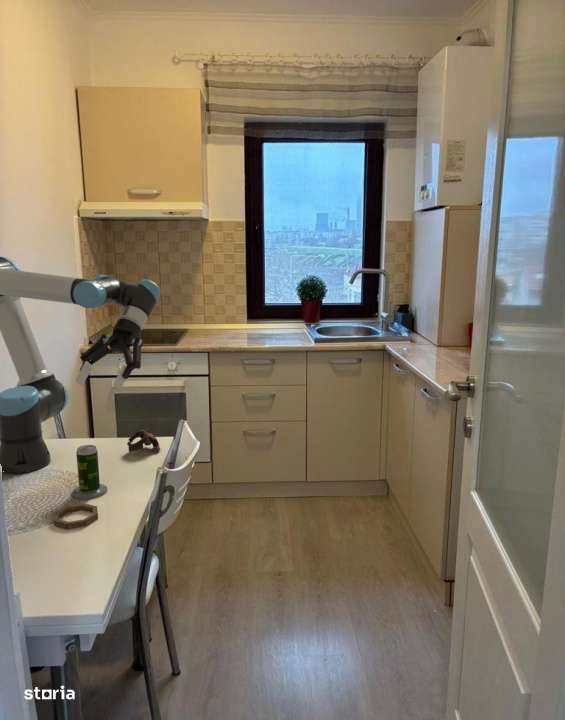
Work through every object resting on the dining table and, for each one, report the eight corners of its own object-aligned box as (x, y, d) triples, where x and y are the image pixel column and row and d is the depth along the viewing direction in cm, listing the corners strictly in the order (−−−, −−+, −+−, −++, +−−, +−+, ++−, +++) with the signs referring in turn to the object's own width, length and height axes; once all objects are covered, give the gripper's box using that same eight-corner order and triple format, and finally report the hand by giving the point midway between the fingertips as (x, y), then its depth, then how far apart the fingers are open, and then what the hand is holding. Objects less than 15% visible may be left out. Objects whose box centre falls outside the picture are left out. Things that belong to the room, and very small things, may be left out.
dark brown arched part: (162, 457, 176) (148, 438, 172) (136, 469, 176) (122, 451, 173) (163, 436, 186) (150, 418, 183) (139, 448, 187) (126, 430, 183)
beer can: (89, 484, 152) (86, 443, 150) (104, 488, 150) (101, 446, 148) (74, 492, 148) (71, 449, 145) (89, 495, 145) (86, 452, 143)
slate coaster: (64, 495, 147) (64, 493, 146) (89, 483, 155) (89, 481, 154) (90, 502, 143) (90, 499, 143) (114, 488, 151) (114, 486, 151)
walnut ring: (44, 523, 131) (44, 518, 131) (76, 506, 140) (75, 501, 140) (76, 532, 127) (75, 526, 127) (106, 514, 136) (106, 508, 136)
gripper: (170, 335, 161) (140, 396, 150) (104, 330, 171) (71, 387, 160) (158, 319, 155) (126, 382, 144) (90, 315, 165) (55, 373, 155)
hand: (97, 385), depth 152 cm, fingers open, 13 cm apart
